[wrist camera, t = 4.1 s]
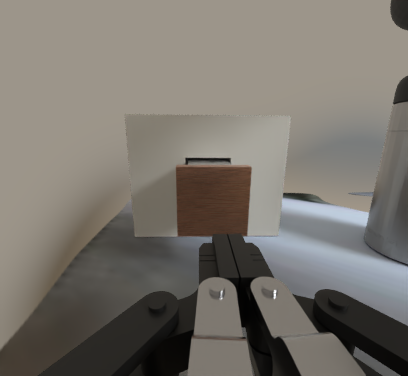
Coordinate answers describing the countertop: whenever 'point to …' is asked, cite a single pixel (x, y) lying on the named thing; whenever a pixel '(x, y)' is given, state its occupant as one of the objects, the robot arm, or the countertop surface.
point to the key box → (204, 149)
